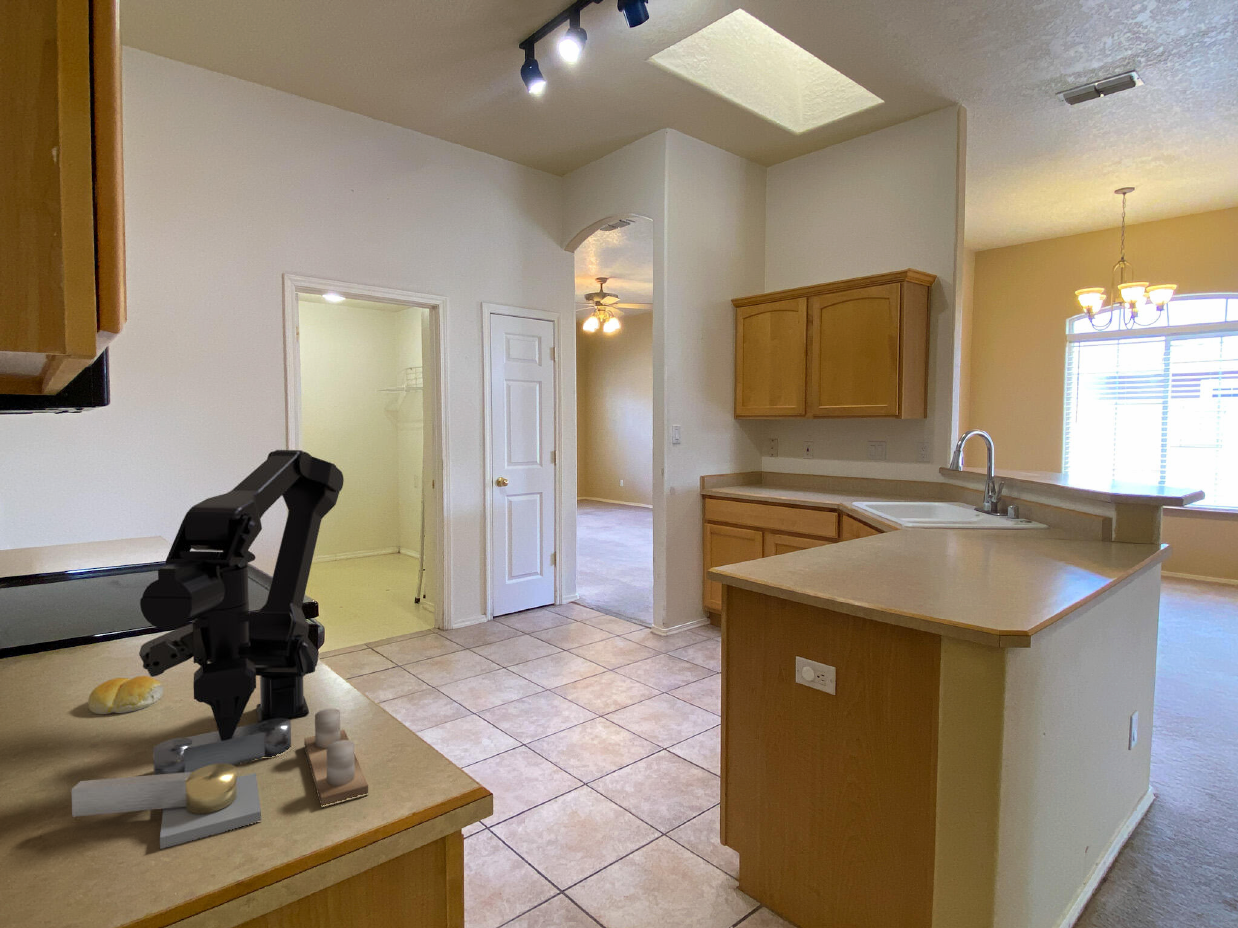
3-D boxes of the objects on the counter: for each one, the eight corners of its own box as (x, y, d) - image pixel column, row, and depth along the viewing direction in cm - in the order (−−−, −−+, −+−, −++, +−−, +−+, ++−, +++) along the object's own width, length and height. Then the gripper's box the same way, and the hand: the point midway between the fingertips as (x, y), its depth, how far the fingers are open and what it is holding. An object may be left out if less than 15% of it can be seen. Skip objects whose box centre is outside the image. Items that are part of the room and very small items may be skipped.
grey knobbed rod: (152, 785, 78) (151, 756, 78) (154, 769, 82) (154, 742, 81) (292, 753, 86) (292, 727, 86) (289, 740, 90) (289, 715, 89)
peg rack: (304, 746, 88) (303, 708, 87) (344, 737, 90) (344, 700, 90) (321, 807, 74) (321, 763, 74) (368, 795, 77) (367, 752, 76)
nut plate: (165, 804, 74) (165, 794, 74) (256, 782, 79) (255, 772, 79) (160, 849, 67) (159, 837, 67) (261, 821, 71) (260, 811, 71)
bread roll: (109, 694, 103) (109, 669, 103) (171, 692, 105) (170, 668, 104) (73, 718, 95) (72, 691, 95) (139, 715, 96) (139, 689, 96)
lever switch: (243, 786, 76) (242, 760, 75) (227, 811, 71) (226, 783, 71) (90, 800, 72) (89, 773, 72) (63, 826, 68) (62, 797, 68)
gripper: (149, 594, 86) (153, 709, 87) (136, 635, 70) (141, 776, 72) (246, 584, 92) (249, 692, 93) (255, 620, 76) (257, 750, 77)
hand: (225, 724), depth 84 cm, fingers open, 9 cm apart
